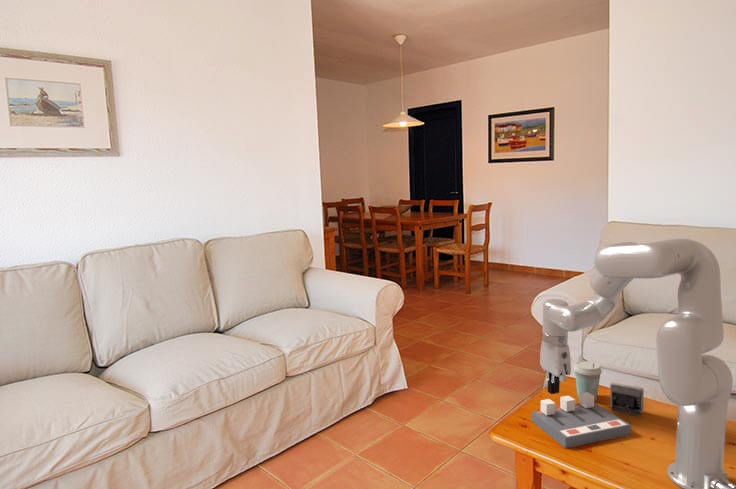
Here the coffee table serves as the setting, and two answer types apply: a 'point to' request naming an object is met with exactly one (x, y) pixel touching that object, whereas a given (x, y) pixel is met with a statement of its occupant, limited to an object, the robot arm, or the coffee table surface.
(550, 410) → the left switch
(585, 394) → the right switch
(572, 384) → the coffee table surface
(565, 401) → the middle switch
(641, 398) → the electrical switch
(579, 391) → the coffee cup
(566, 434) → the switch unit
